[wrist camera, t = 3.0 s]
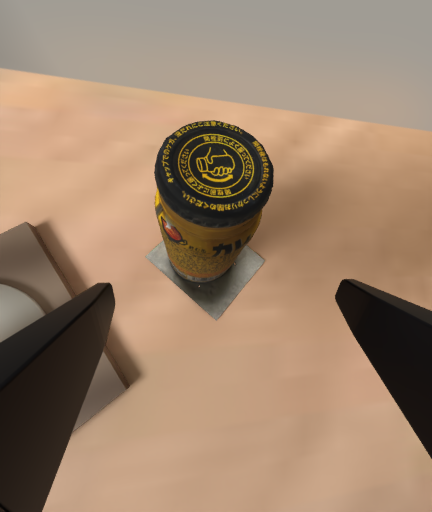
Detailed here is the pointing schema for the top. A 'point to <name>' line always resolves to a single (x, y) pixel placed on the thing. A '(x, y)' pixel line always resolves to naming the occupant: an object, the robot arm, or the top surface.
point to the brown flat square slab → (45, 306)
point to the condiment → (210, 210)
